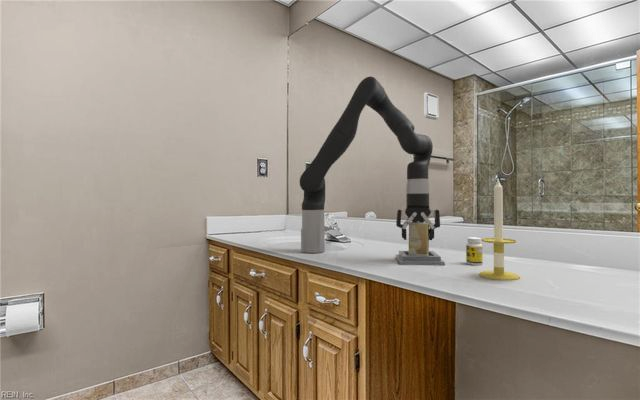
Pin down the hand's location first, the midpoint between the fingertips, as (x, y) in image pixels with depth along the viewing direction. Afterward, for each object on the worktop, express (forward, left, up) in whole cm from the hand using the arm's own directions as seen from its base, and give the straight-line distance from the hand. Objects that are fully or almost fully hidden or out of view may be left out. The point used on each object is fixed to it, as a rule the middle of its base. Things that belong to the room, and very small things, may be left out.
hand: (417, 239), depth 115 cm
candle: (+18, -21, -7) cm, 29 cm away
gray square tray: (0, 0, -7) cm, 7 cm away
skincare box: (0, 0, -6) cm, 6 cm away
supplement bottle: (+17, -4, -7) cm, 19 cm away
